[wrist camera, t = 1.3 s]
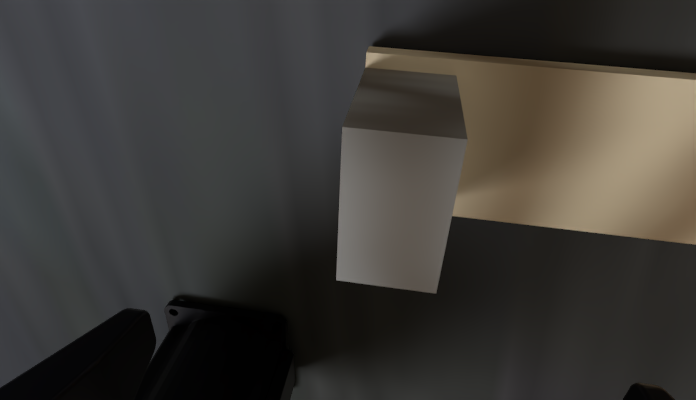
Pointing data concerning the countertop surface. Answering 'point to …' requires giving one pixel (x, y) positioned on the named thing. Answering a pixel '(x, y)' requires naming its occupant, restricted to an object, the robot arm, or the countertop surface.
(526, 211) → the beige rectangular bar
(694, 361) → the countertop surface
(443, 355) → the countertop surface
